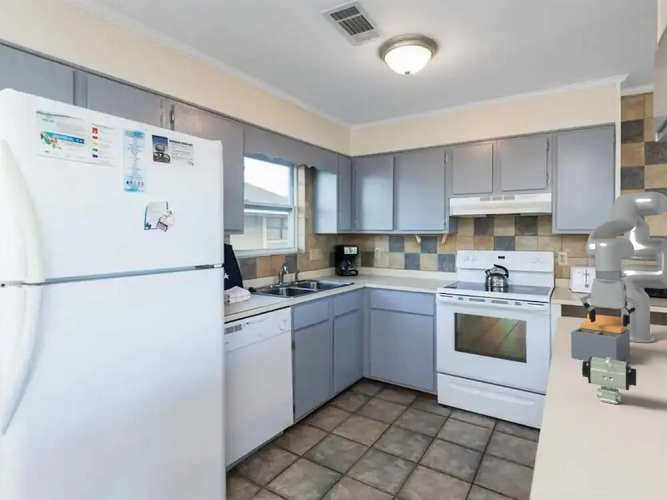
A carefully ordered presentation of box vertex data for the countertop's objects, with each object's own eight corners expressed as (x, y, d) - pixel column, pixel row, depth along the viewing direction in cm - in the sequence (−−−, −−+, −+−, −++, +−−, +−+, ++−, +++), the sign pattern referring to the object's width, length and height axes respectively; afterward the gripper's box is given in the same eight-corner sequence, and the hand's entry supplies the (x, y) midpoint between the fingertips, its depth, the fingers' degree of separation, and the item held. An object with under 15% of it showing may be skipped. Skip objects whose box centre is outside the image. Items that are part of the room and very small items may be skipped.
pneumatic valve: (584, 393, 110) (584, 351, 110) (636, 403, 103) (636, 359, 102) (581, 399, 106) (581, 356, 105) (635, 411, 98) (635, 364, 98)
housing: (587, 347, 152) (587, 323, 152) (629, 355, 142) (629, 329, 142) (571, 357, 141) (571, 332, 141) (616, 366, 131) (616, 338, 130)
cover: (588, 323, 151) (588, 313, 151) (627, 328, 142) (627, 318, 142) (580, 327, 145) (580, 317, 145) (620, 333, 136) (620, 322, 136)
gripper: (641, 275, 131) (642, 325, 132) (583, 273, 145) (584, 318, 145) (636, 278, 126) (636, 329, 127) (576, 275, 140) (577, 322, 141)
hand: (609, 323), depth 136 cm, fingers open, 9 cm apart
